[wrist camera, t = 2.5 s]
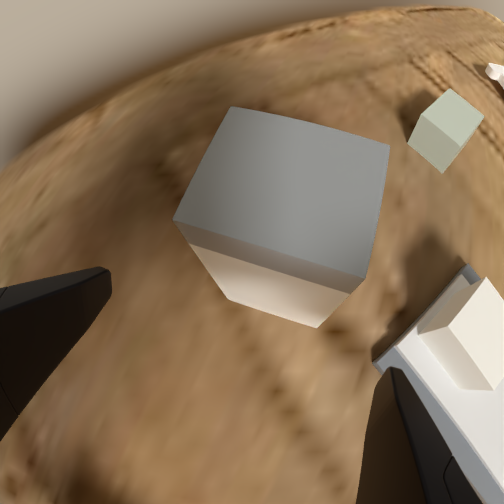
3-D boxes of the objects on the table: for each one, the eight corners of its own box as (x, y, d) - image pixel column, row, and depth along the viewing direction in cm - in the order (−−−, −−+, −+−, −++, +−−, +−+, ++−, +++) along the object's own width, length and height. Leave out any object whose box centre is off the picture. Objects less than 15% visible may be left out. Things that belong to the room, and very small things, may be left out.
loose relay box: (441, 174, 23) (460, 147, 20) (406, 144, 24) (421, 114, 21) (467, 142, 24) (484, 116, 21) (435, 116, 26) (449, 88, 22)
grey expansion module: (316, 328, 20) (365, 278, 9) (228, 299, 21) (172, 219, 10) (337, 257, 21) (390, 145, 10) (253, 231, 23) (230, 106, 11)
